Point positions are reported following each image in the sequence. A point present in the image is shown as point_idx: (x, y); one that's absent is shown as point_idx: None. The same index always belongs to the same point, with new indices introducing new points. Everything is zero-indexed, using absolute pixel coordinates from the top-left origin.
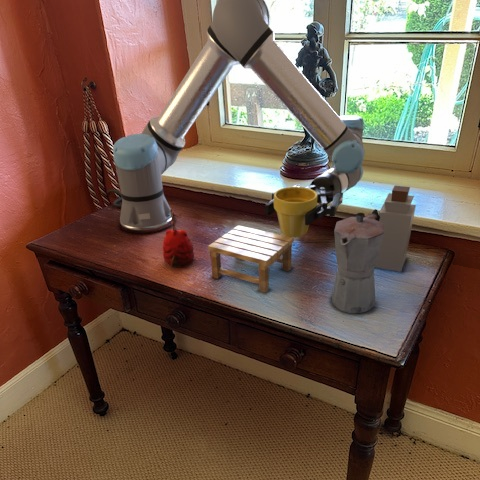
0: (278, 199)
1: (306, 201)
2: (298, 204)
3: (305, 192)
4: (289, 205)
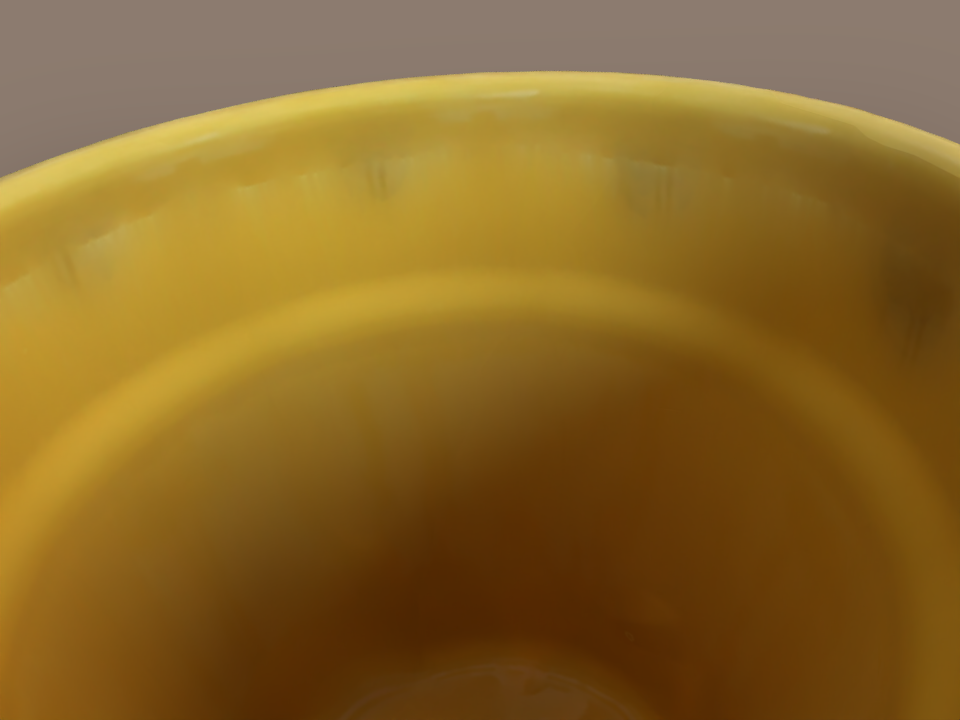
0: (629, 77)
1: (57, 158)
2: (223, 141)
3: None
4: (385, 135)
